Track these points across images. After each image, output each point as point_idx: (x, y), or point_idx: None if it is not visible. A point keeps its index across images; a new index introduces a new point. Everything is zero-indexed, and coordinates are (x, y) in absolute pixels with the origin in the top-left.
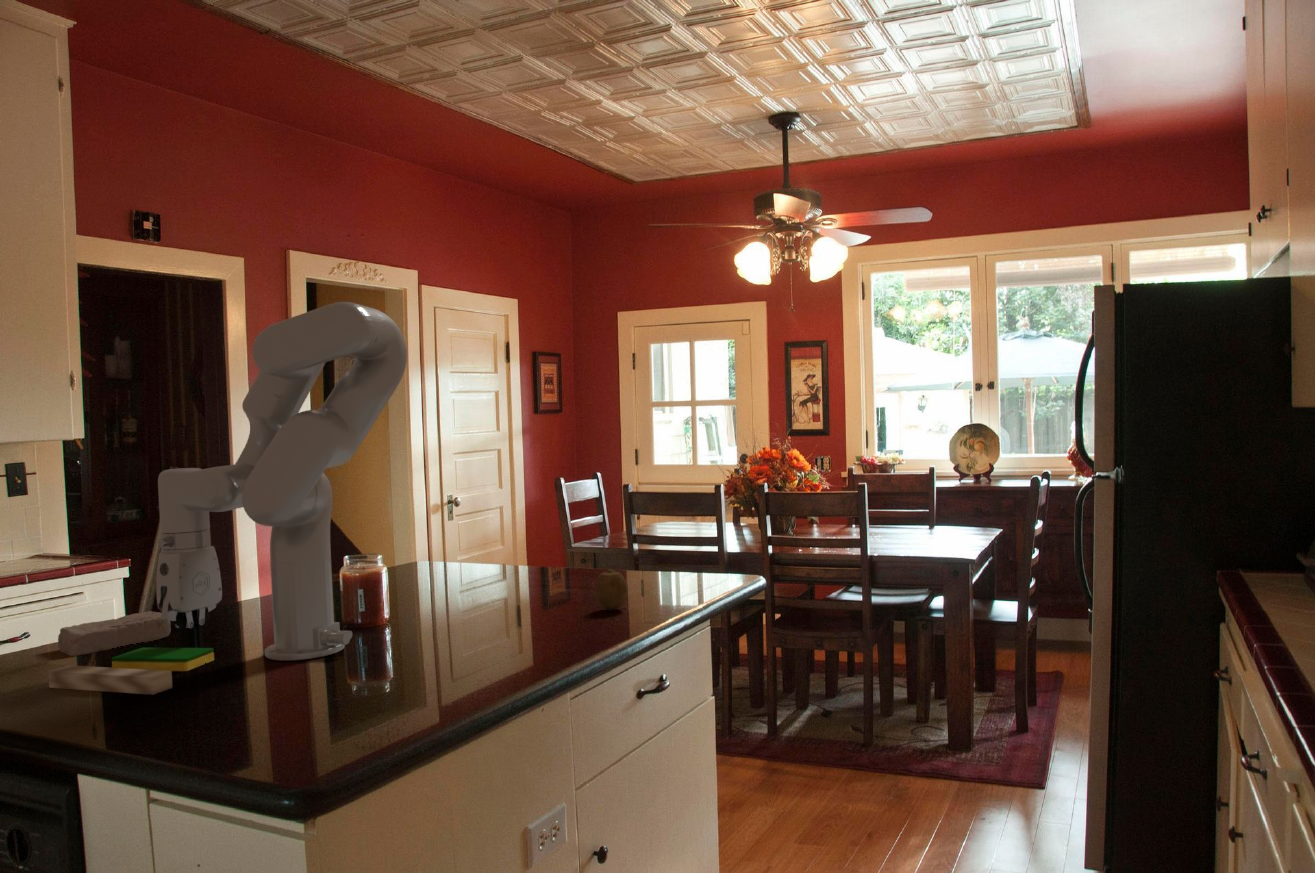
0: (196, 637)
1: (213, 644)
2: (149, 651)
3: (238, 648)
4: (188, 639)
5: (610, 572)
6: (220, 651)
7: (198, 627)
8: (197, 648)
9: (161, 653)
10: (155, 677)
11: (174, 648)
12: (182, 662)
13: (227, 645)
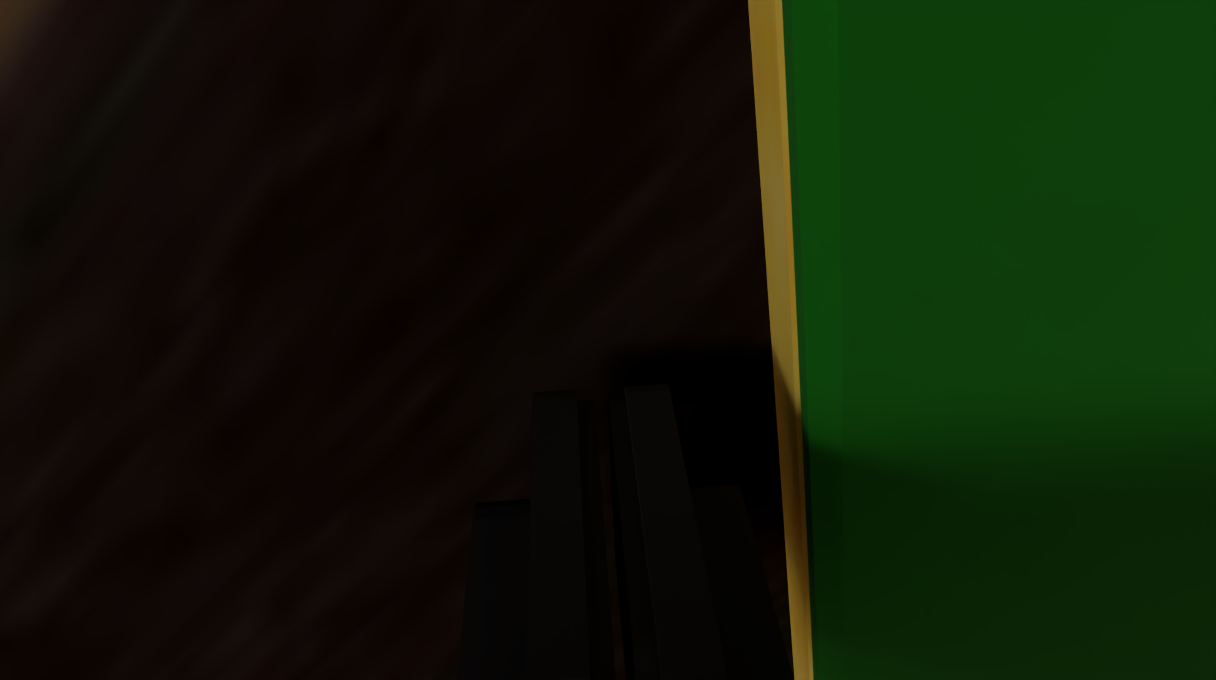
0: (648, 509)
1: (122, 583)
2: (1028, 651)
3: (45, 116)
4: (736, 548)
5: None
6: (312, 243)
7: (588, 662)
8: (876, 214)
9: (1168, 467)
10: None
11: (885, 525)
12: None
13: (46, 412)
